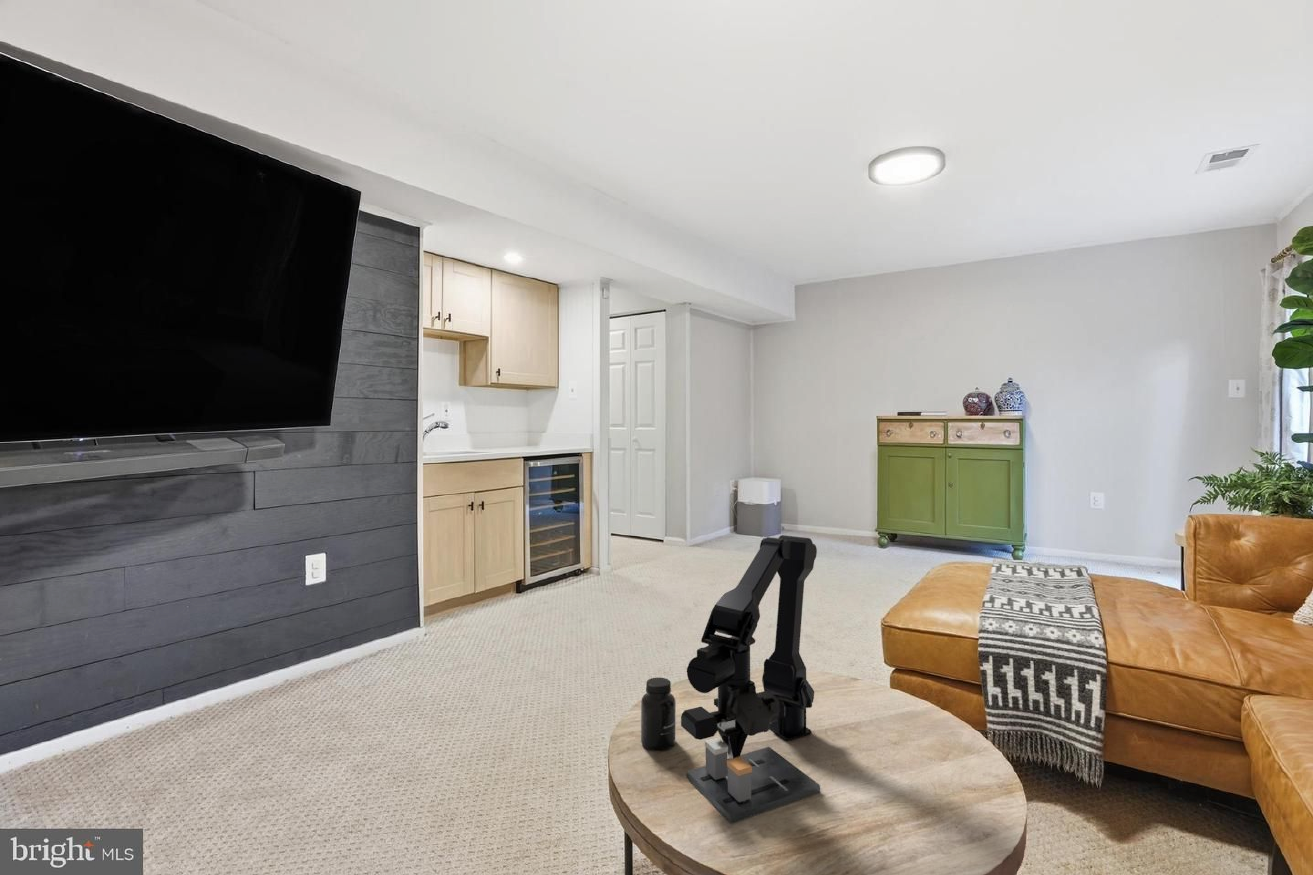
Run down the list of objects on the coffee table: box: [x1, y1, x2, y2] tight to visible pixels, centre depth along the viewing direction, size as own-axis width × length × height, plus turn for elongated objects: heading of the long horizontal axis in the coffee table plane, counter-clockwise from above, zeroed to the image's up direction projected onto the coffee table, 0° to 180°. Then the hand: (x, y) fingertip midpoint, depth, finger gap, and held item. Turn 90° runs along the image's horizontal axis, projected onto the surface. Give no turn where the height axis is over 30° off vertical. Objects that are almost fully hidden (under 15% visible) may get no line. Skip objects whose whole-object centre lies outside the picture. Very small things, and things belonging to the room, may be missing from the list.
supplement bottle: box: [640, 677, 677, 751], centre depth 117 cm, size 7×7×12 cm
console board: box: [686, 746, 821, 825], centre depth 102 cm, size 18×14×1 cm
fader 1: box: [704, 737, 728, 780], centre depth 103 cm, size 3×3×5 cm
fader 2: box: [727, 756, 752, 802], centre depth 97 cm, size 3×3×5 cm
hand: (734, 761), depth 105 cm, fingers closed
